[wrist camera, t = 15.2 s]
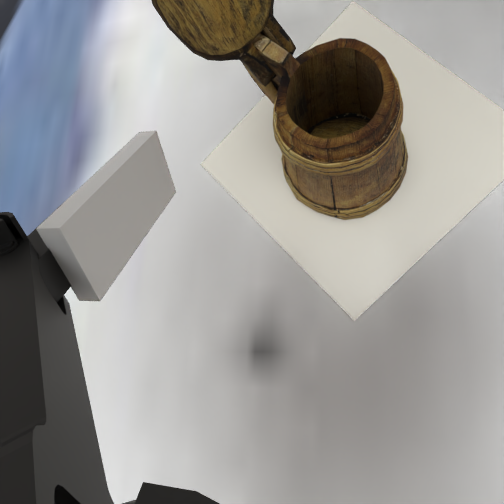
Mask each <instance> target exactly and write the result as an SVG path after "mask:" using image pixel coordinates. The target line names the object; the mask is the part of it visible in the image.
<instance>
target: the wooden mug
mask: <svg viewBox="0 0 504 504" xmlns="http://www.w3.org/2000/svg"><path fill="white" fill-rule="evenodd" d="M152 4H153V6H154V7H155V9H156V10H157V12H158V13H159V15H160V16H161V18H162V19H163V21H164V22H165V24H166V25H167V27H168V28H169V29H170V30H171V31H172V32H173V33H174V34H175V35H176V36H177V37H178V38H179V39H180V40H181V42H182V43H183V44H184V45H186V46H187V47H188V48H189V49H190V50H191V51H192V52H193V53H195V54H197V55H199V56H201V57H203V58H205V59H207V60H216V61H224V60H241V62H242V63H243V65H244V66H245V68H246V69H247V71H248V72H249V74H250V76H251V77H252V78H253V80H254V81H255V82H256V83H257V85H258V86H259V87H260V89H261V90H262V91H263V92H264V94H265V95H266V96H267V97H268V98H269V99H270V101H271V102H272V103H273V104H274V108H273V130H274V137H275V140H276V142H277V144H278V146H279V148H280V150H281V152H282V158H281V161H282V166H283V172H284V176H285V179H286V182H287V184H288V185H289V187H290V189H291V190H292V192H293V194H294V196H295V197H296V199H297V200H298V201H300V202H301V203H303V204H304V205H306V206H307V207H309V208H311V209H313V210H315V211H316V212H318V213H322V214H325V215H328V216H331V217H335V218H339V219H343V220H349V219H355V218H362V217H365V216H367V215H369V214H371V213H372V212H374V211H376V210H378V209H379V208H381V207H382V206H383V205H384V204H386V203H387V202H388V201H390V200H391V198H392V197H393V196H394V194H395V193H396V192H397V191H398V189H399V188H400V186H401V184H402V181H403V179H404V176H405V174H406V170H407V162H408V153H407V148H406V143H405V139H404V135H403V133H402V131H401V124H402V122H403V101H402V96H401V92H400V87H399V83H398V80H397V78H396V77H395V75H394V73H393V71H392V70H391V68H390V66H389V64H388V62H387V60H386V58H385V57H384V56H383V55H382V54H381V53H380V52H378V51H377V50H376V49H375V48H373V47H371V46H370V45H368V44H367V43H364V42H362V41H359V40H357V39H351V38H338V39H335V40H332V41H329V42H326V43H323V44H320V45H317V46H315V47H313V48H311V49H309V50H308V51H306V52H304V53H302V54H301V55H300V56H298V57H297V58H294V57H293V56H292V55H293V53H294V51H295V49H296V47H295V45H294V44H293V42H292V40H291V39H290V37H289V36H288V35H287V33H286V32H285V31H284V30H283V28H282V27H281V26H280V24H279V23H278V22H277V20H276V19H275V18H274V17H273V4H274V0H152Z"/></svg>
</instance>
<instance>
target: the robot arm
mask: <svg viewBox="0 0 504 504" xmlns="http://www.w3.org/2000/svg"><path fill="white" fill-rule="evenodd" d="M175 193H176V190H175V187H174V184H173V181H172V178H171V175H170V172H169V169H168V166H167V162H166V159H165V156H164V153H163V150H162V147H161V144H160V141H159V138H158V135H157V132H156V131H149V132H139V133H138V134H137V135H136V136H135V137H134V138H133V139H131V140H130V141H129V142H128V143H127V144H126V145H125V146H124V147H123V148H122V149H121V150H120V151H119V152H118V153H116V154H115V155H114V156H113V157H112V158H111V159H110V160H109V161H108V162H107V163H106V164H105V165H104V166H103V167H101V168H100V169H99V170H98V171H97V172H96V173H95V174H94V175H93V176H92V177H91V178H90V179H89V180H88V181H86V182H85V183H84V184H83V185H82V186H81V187H80V188H79V189H78V190H77V191H76V192H75V193H74V194H73V195H71V196H70V197H69V198H68V199H67V200H66V201H65V202H64V203H63V204H62V205H61V206H59V207H58V208H57V209H56V210H55V211H54V212H53V213H52V214H51V215H50V216H49V217H48V218H47V219H46V220H44V221H43V222H42V223H41V224H40V225H39V226H38V227H37V228H36V229H35V230H34V231H33V232H32V233H31V234H29V235H28V236H26V234H25V232H24V231H23V229H22V228H21V226H20V224H19V223H18V221H17V220H16V218H15V216H14V215H13V213H9V212H2V213H0V504H114V503H113V501H112V499H111V496H110V493H109V490H108V487H107V482H106V477H105V473H104V468H103V463H102V458H101V453H100V449H99V444H98V439H97V434H96V430H95V425H94V420H93V415H92V410H91V406H90V401H89V396H88V391H87V386H86V382H85V377H84V372H83V367H82V363H81V358H80V353H79V348H78V343H77V339H76V334H75V329H74V324H73V319H72V315H71V310H70V305H69V303H68V301H67V299H66V298H65V296H64V294H65V293H66V292H67V290H68V289H69V288H70V287H71V288H72V289H73V291H74V293H75V294H76V296H77V298H78V299H79V301H101V299H102V298H103V296H104V295H105V294H106V292H107V291H108V289H109V288H110V286H111V285H112V284H113V282H114V281H115V279H116V278H117V276H118V275H119V273H120V272H121V271H122V269H123V268H124V266H125V265H126V263H127V262H128V261H129V259H130V258H131V256H132V255H133V253H134V252H135V250H136V249H137V248H138V246H139V245H140V243H141V242H142V240H143V239H144V237H145V236H146V235H147V233H148V232H149V230H150V229H151V227H152V226H153V225H154V223H155V222H156V220H157V219H158V217H159V216H160V214H161V213H162V212H163V210H164V209H165V207H166V206H167V204H168V203H169V202H170V200H171V199H172V197H173V196H174V194H175ZM123 504H219V503H217V502H215V501H214V500H212V499H210V498H208V497H206V496H204V495H202V494H200V493H198V492H197V491H191V490H185V489H179V488H174V487H168V486H162V485H156V484H151V483H145V482H143V484H142V487H141V489H140V492H139V494H138V497H137V499H136V500H133V501H130V502H126V503H123Z"/></svg>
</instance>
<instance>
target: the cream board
mask: <svg viewBox="0 0 504 504" xmlns="http://www.w3.org/2000/svg"><path fill="white" fill-rule="evenodd" d="M338 38H351V39H357V40H359V41H362V42H364V43H367V44H368V45H370V46H371V47H373V48H375V49H376V50H377V51H378V52H380V53H381V54H382V55H383V56H384V57H385V58H386V60H387V62H388V64H389V66H390V68H391V70H392V71H393V73H394V75H395V77H396V78H397V80H398V83H399V87H400V92H401V96H402V101H403V122H402V124H401V131H402V133H403V135H404V139H405V143H406V148H407V153H408V162H407V170H406V174H405V176H404V179H403V181H402V184H401V186H400V188H399V189H398V191H397V192H396V193H395V194H394V196H393V197H392V198H391V200H390V201H388V202H387V203H386V204H384V205H383V206H382V207H381V208H379V209H378V210H376V211H374V212H372V213H371V214H369V215H367V216H365V217H362V218H355V219H349V220H343V219H339V218H335V217H331V216H328V215H325V214H322V213H318V212H316V211H315V210H313V209H311V208H309V207H307V206H306V205H304V204H303V203H301V202H300V201H298V200H297V199H296V197H295V196H294V194H293V192H292V190H291V189H290V187H289V185H288V184H287V182H286V179H285V176H284V172H283V166H282V161H281V158H282V152H281V150H280V148H279V146H278V144H277V142H276V140H275V137H274V130H273V108H274V104H273V103H272V102H271V101H270V99H269V98H268V97H267V96H266V95H265V96H264V97H263V98H262V99H261V100H260V101H259V102H258V103H257V104H256V105H255V106H254V107H253V108H252V109H251V110H250V112H249V113H248V114H247V115H246V116H245V117H244V118H243V119H242V120H241V121H240V122H239V123H238V124H237V125H236V127H235V128H234V129H233V130H232V131H231V132H230V133H229V134H228V135H227V136H226V137H225V138H224V139H223V140H222V142H221V143H220V144H219V145H218V146H217V147H216V148H215V149H214V150H213V151H212V152H211V153H210V154H209V155H208V157H207V158H206V159H205V160H204V161H203V162H202V163H201V164H200V165H201V166H202V167H203V168H204V169H205V170H206V171H207V172H208V173H209V174H210V175H211V176H212V177H213V178H214V179H215V180H216V181H217V182H218V183H219V184H220V185H221V186H222V187H223V188H224V189H225V190H226V191H227V192H228V193H229V194H230V195H231V196H232V197H233V198H234V199H235V200H236V201H237V203H238V204H239V205H240V206H241V207H242V208H243V209H244V210H245V211H246V212H247V213H248V214H249V215H250V216H251V217H252V218H253V219H254V220H255V221H256V222H257V223H258V224H259V225H260V226H261V227H262V228H263V229H264V230H265V231H266V232H267V233H268V234H269V235H270V236H271V237H272V238H273V239H274V240H275V241H276V242H277V243H278V244H279V245H280V246H281V247H282V248H283V249H284V250H285V251H286V252H287V253H288V254H289V255H290V256H291V257H292V258H293V259H294V260H295V261H296V262H297V263H298V264H299V265H300V266H301V268H302V269H303V270H304V271H305V272H306V273H307V274H308V275H309V276H310V277H311V278H312V279H313V280H314V281H315V282H316V283H317V284H318V285H319V286H320V287H321V288H322V289H323V290H324V291H325V292H326V293H327V294H328V295H329V296H330V297H331V298H332V299H333V300H334V301H335V302H336V303H337V304H338V305H339V306H340V307H341V308H342V309H343V310H344V311H345V312H346V313H347V314H348V315H349V316H350V317H351V318H352V319H353V320H354V321H355V320H356V319H357V318H358V317H359V316H360V315H361V314H363V313H364V312H365V311H366V310H367V309H368V308H369V307H370V306H371V305H372V304H373V303H374V302H375V301H376V300H377V299H378V298H379V297H381V296H382V295H383V294H384V293H385V292H386V291H387V290H388V289H389V288H390V287H391V286H392V285H393V284H394V283H395V282H396V281H397V280H398V279H400V278H401V277H402V276H403V275H404V274H405V273H406V272H407V271H408V270H409V269H410V268H411V267H412V266H413V265H414V264H415V263H416V262H417V261H419V260H420V259H421V258H422V257H423V256H424V255H425V254H426V253H427V252H428V251H429V250H430V249H431V248H432V247H433V246H434V245H435V244H436V243H438V242H439V241H440V240H441V239H442V238H443V237H444V236H445V235H446V234H447V233H448V232H449V231H450V230H451V229H452V228H453V227H454V226H456V225H457V224H458V223H459V222H460V221H461V220H462V219H463V218H464V217H465V216H466V215H467V214H468V213H469V212H470V211H471V210H472V209H473V208H475V207H476V206H477V205H478V204H479V203H480V202H481V201H482V200H483V199H484V198H485V197H486V196H487V195H488V194H489V193H490V192H491V191H492V190H494V189H495V188H496V187H497V186H498V185H499V184H500V183H501V182H502V181H503V180H504V110H503V109H502V108H501V107H499V106H498V105H497V104H495V103H494V102H492V101H491V100H490V99H488V98H487V97H485V96H484V95H483V94H481V93H480V92H479V91H477V90H476V89H474V88H473V87H472V86H470V85H469V84H467V83H466V82H465V81H463V80H462V79H461V78H459V77H458V76H456V75H455V74H454V73H452V72H451V71H449V70H448V69H447V68H445V67H444V66H443V65H441V64H440V63H438V62H437V61H436V60H434V59H433V58H431V57H430V56H429V55H427V54H426V53H425V52H423V51H422V50H420V49H419V48H418V47H416V46H415V45H413V44H412V43H411V42H409V41H408V40H407V39H405V38H404V37H402V36H401V35H400V34H398V33H397V32H395V31H394V30H393V29H391V28H390V27H389V26H387V25H386V24H384V23H383V22H382V21H380V20H379V19H377V18H376V17H375V16H373V15H372V14H371V13H369V12H368V11H366V10H365V9H364V8H362V7H361V6H360V5H358V4H357V3H355V2H354V1H352V2H351V3H350V5H349V6H348V7H347V8H346V9H345V10H344V11H343V12H342V13H341V14H340V15H339V16H338V17H337V18H336V20H335V21H334V22H333V23H332V24H331V25H330V26H329V27H328V28H327V29H326V30H325V31H324V32H323V33H322V35H321V36H320V37H319V38H318V39H317V40H316V41H315V42H314V43H313V44H312V45H311V46H310V47H309V48H308V50H309V49H311V48H313V47H315V46H317V45H320V44H323V43H326V42H329V41H332V40H335V39H338ZM308 50H307V51H308Z"/></svg>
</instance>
